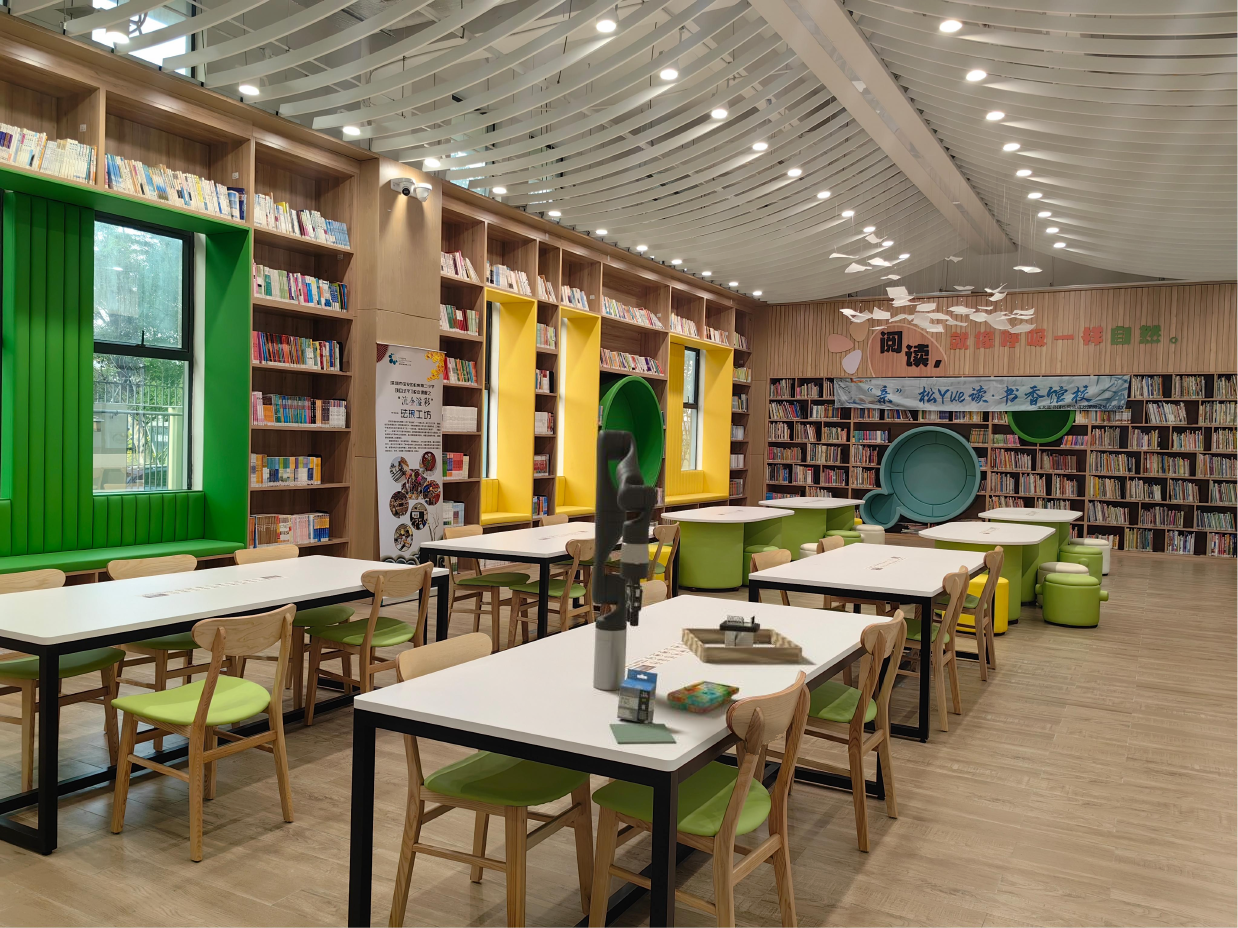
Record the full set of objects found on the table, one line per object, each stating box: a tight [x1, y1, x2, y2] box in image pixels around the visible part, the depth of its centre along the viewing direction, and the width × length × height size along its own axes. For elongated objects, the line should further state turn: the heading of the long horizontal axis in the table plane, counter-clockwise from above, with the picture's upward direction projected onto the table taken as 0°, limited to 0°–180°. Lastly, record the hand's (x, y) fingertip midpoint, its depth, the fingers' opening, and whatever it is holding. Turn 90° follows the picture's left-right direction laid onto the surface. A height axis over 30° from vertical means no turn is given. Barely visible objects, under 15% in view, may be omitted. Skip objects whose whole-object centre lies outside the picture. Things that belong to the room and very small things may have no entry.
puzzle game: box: [666, 680, 740, 714], centre depth 250 cm, size 12×5×20 cm
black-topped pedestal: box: [718, 614, 761, 647], centre depth 319 cm, size 28×26×13 cm
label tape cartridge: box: [616, 668, 658, 724], centre depth 231 cm, size 9×4×12 cm, turn 62°
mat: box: [609, 723, 677, 745], centre depth 220 cm, size 14×14×1 cm
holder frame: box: [681, 627, 803, 663], centre depth 318 cm, size 32×34×5 cm
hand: (632, 623), depth 239 cm, fingers open, 5 cm apart
